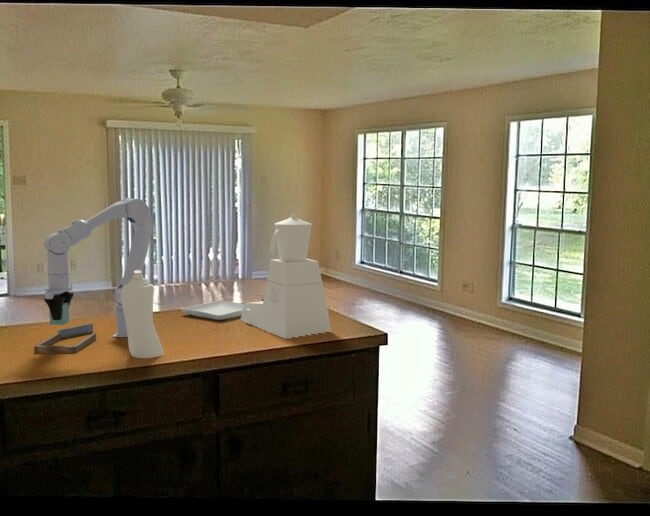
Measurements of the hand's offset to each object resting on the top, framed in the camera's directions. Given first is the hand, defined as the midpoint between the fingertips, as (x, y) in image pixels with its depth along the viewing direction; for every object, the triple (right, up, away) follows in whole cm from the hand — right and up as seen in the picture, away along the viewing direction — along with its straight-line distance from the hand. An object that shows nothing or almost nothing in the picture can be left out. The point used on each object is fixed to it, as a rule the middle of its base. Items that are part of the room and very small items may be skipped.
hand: (60, 318), depth 191 cm
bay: (+3, -9, -2) cm, 9 cm away
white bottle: (+29, -10, -11) cm, 32 cm away
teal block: (0, -2, 0) cm, 2 cm away
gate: (0, -7, +12) cm, 13 cm away
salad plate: (+41, -4, +47) cm, 62 cm away
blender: (+66, -6, +26) cm, 71 cm away
